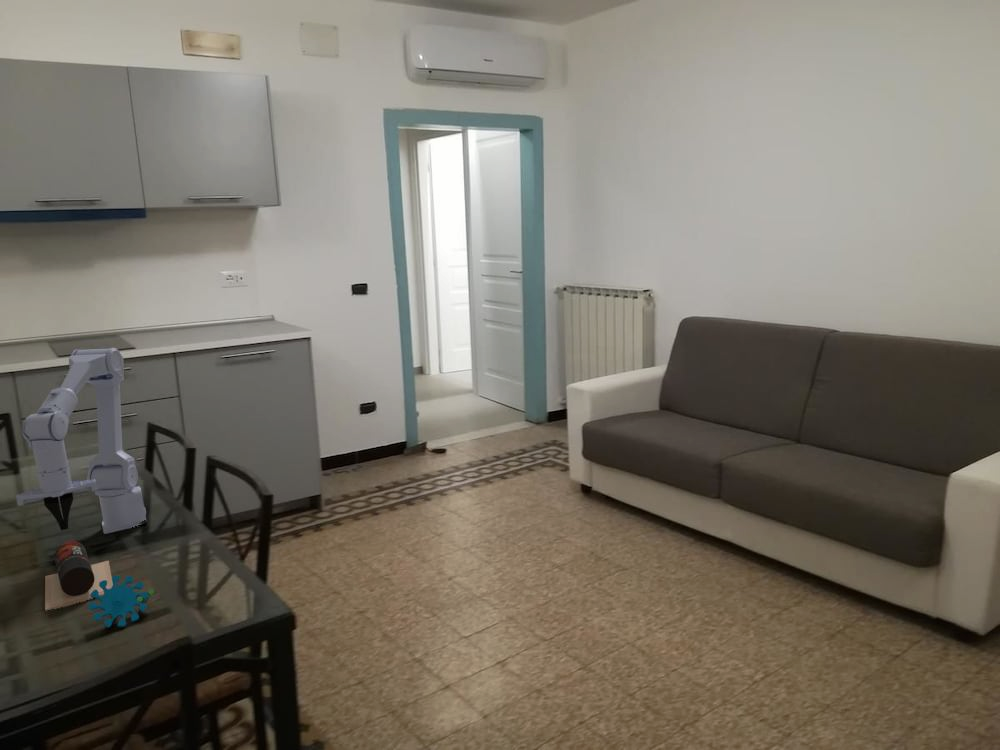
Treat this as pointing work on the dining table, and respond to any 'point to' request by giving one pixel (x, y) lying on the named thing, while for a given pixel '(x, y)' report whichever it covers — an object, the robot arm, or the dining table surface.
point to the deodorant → (73, 568)
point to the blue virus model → (119, 601)
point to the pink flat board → (61, 599)
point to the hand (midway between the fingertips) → (64, 528)
